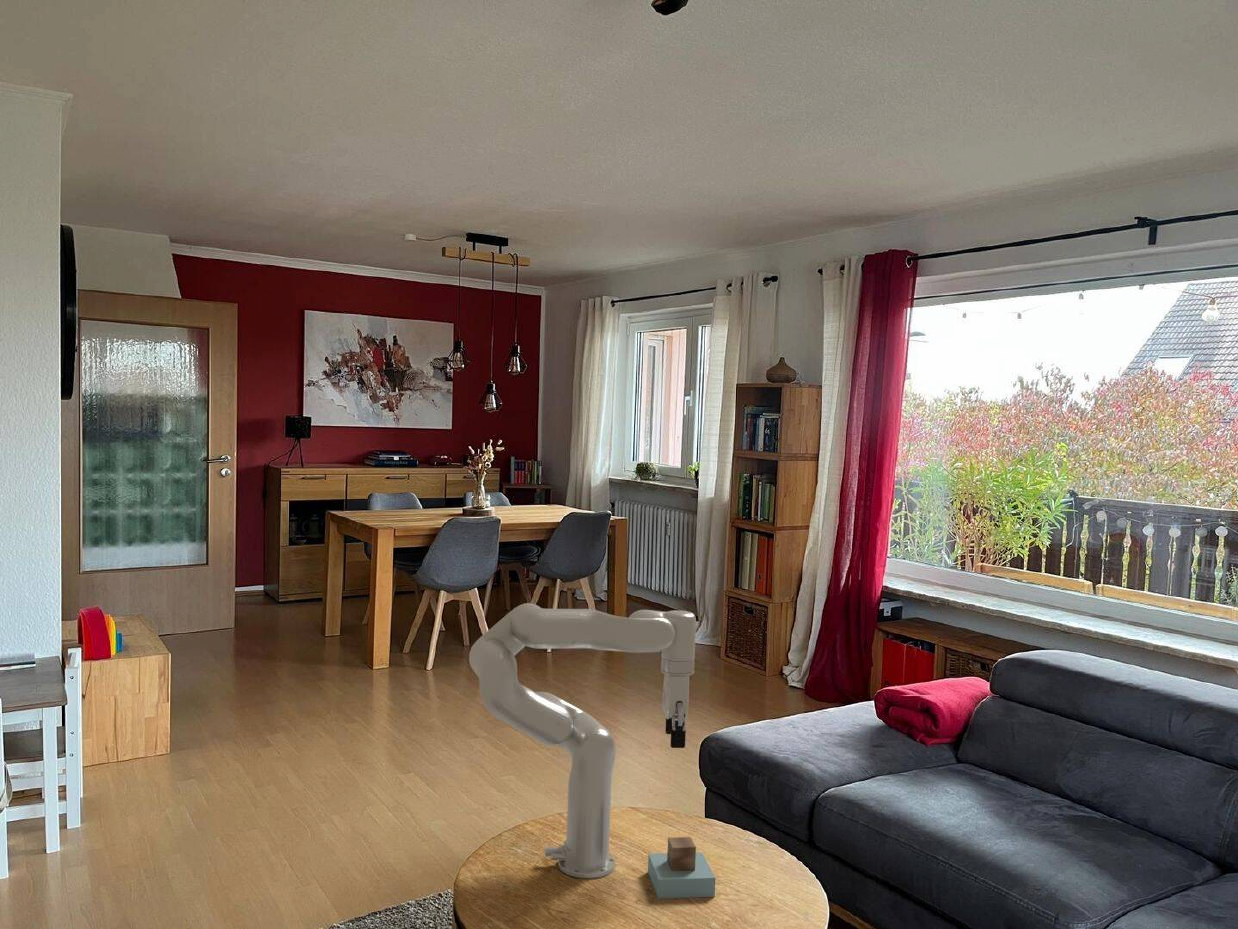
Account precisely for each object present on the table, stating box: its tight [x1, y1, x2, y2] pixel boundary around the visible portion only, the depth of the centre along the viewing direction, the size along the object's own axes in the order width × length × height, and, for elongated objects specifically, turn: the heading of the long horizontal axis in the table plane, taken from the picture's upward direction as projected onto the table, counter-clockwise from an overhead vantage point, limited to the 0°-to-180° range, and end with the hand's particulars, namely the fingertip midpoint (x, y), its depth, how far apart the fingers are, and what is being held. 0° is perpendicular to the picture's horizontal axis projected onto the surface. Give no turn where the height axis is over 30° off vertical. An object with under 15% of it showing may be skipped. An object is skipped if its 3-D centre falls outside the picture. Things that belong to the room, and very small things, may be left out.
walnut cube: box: [667, 836, 697, 871], centre depth 199 cm, size 5×5×5 cm
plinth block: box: [647, 852, 716, 900], centre depth 200 cm, size 12×12×4 cm
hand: (674, 740), depth 213 cm, fingers open, 9 cm apart
